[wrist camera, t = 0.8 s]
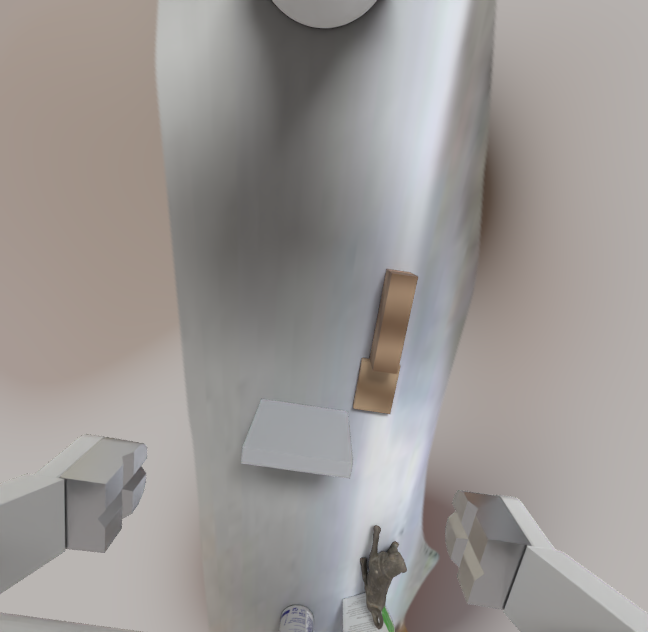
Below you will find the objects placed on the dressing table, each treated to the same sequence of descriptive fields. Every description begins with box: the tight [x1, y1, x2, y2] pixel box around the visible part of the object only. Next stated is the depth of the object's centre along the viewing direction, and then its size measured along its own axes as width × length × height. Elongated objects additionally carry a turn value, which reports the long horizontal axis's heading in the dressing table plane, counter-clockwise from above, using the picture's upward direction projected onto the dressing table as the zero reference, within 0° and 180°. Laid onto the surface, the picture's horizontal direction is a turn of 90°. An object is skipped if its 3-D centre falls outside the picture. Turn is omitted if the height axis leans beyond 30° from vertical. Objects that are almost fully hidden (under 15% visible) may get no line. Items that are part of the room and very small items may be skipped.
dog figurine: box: [360, 525, 407, 629], centre depth 51 cm, size 12×6×7 cm, turn 169°
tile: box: [241, 399, 353, 479], centre depth 44 cm, size 2×12×11 cm, turn 81°
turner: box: [353, 269, 418, 414], centre depth 45 cm, size 19×5×4 cm, turn 172°
